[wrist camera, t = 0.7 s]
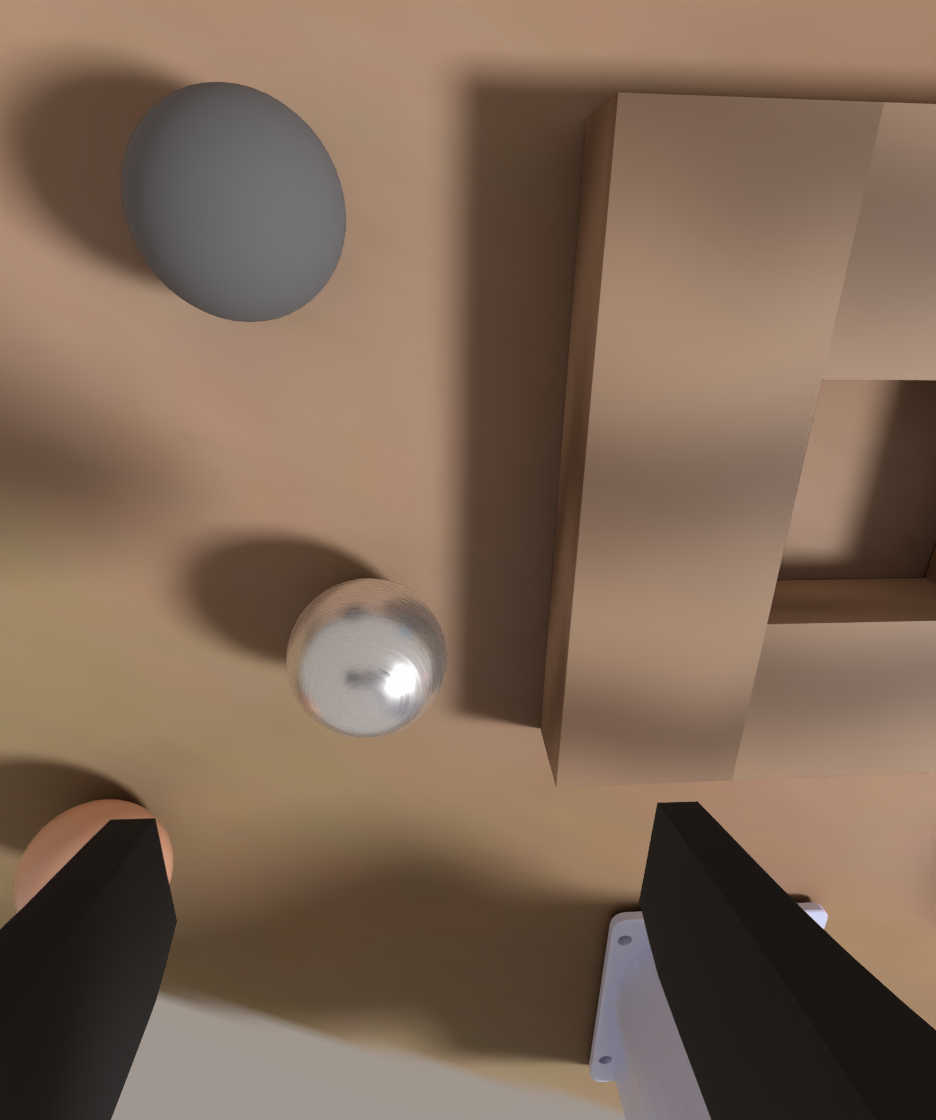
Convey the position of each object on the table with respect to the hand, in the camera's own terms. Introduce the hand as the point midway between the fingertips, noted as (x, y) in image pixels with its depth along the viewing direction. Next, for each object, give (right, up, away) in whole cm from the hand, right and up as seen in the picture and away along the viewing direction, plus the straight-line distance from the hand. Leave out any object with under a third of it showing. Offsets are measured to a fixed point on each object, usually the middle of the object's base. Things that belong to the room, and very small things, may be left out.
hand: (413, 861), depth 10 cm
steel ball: (-2, +2, +7) cm, 8 cm away
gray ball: (-4, +11, +3) cm, 12 cm away
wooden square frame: (+11, +7, +8) cm, 15 cm away
